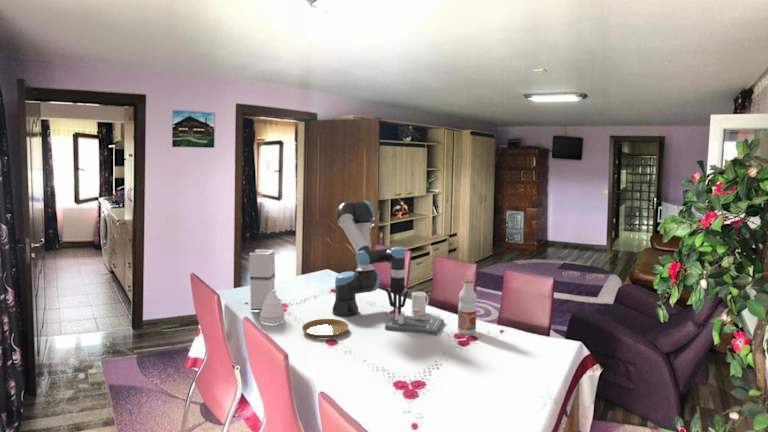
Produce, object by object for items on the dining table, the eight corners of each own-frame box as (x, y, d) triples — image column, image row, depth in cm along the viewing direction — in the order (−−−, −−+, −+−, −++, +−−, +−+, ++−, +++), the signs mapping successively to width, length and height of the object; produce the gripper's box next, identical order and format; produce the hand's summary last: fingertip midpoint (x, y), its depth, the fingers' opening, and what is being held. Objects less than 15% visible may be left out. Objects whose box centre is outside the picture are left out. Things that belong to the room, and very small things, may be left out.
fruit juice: (459, 327, 283) (460, 277, 279) (476, 329, 280) (478, 278, 276) (456, 333, 274) (457, 281, 270) (474, 335, 271) (476, 282, 268)
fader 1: (397, 324, 281) (397, 314, 280) (399, 322, 284) (399, 312, 283) (402, 324, 280) (402, 315, 279) (404, 322, 283) (404, 313, 282)
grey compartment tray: (384, 329, 280) (384, 325, 279) (394, 317, 299) (395, 314, 298) (436, 335, 272) (436, 331, 271) (443, 322, 291) (443, 319, 290)
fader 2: (413, 319, 288) (413, 310, 288) (414, 317, 292) (414, 308, 291) (418, 319, 288) (418, 310, 287) (419, 317, 291) (419, 308, 290)
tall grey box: (275, 307, 316) (274, 250, 311) (270, 312, 305) (268, 253, 301) (257, 306, 317) (255, 249, 312) (251, 312, 306) (249, 253, 302)
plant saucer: (330, 344, 259) (330, 338, 258) (292, 335, 271) (292, 328, 271) (357, 330, 279) (357, 324, 279) (321, 321, 292) (321, 316, 291)
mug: (424, 309, 314) (424, 289, 313) (433, 313, 307) (433, 293, 306) (408, 312, 308) (408, 292, 306) (416, 316, 301) (417, 296, 299)
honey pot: (289, 321, 291) (288, 289, 289) (269, 326, 282) (268, 294, 280) (275, 315, 300) (274, 285, 298) (256, 321, 291) (255, 289, 288)
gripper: (383, 277, 277) (383, 320, 280) (407, 279, 274) (407, 322, 277) (387, 273, 284) (387, 316, 287) (411, 275, 281) (410, 318, 284)
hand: (397, 319), depth 282 cm, fingers closed
